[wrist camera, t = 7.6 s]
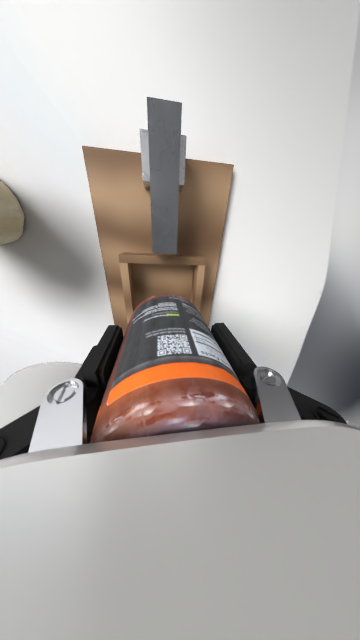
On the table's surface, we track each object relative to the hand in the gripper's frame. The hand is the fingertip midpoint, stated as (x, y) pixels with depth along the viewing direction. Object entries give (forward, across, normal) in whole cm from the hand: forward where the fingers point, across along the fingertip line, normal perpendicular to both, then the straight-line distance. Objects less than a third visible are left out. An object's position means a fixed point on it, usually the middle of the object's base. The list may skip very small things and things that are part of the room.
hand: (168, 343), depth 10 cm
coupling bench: (+12, 0, 0) cm, 12 cm away
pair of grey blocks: (+11, -2, 0) cm, 12 cm away
